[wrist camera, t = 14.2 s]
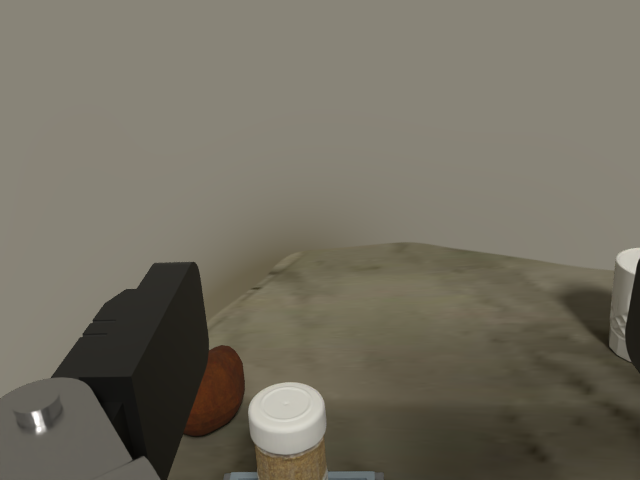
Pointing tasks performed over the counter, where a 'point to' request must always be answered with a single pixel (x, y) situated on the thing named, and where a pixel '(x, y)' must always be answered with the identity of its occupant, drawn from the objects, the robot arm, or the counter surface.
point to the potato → (217, 392)
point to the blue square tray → (334, 478)
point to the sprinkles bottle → (289, 432)
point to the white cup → (622, 299)
